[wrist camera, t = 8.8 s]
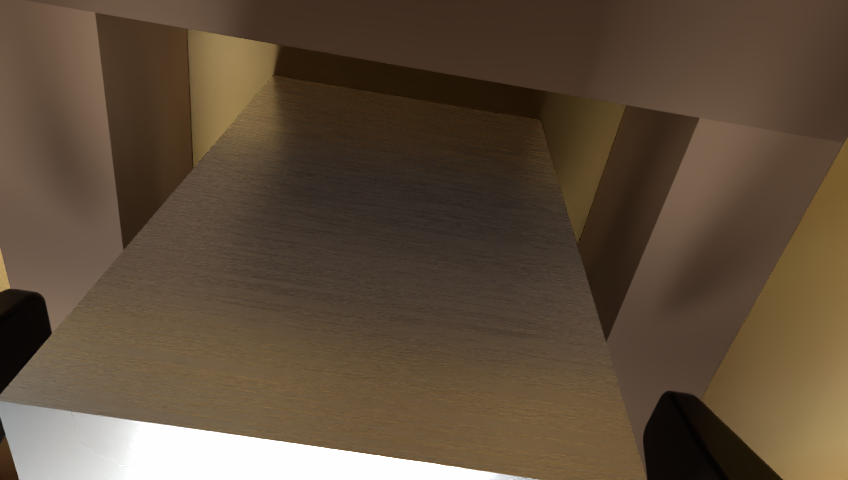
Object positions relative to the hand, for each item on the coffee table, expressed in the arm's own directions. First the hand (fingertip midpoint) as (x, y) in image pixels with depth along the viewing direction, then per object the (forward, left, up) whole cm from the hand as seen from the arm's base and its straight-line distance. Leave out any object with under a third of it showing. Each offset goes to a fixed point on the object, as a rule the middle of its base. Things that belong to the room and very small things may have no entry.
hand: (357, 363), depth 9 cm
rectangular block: (0, 0, -4) cm, 5 cm away
